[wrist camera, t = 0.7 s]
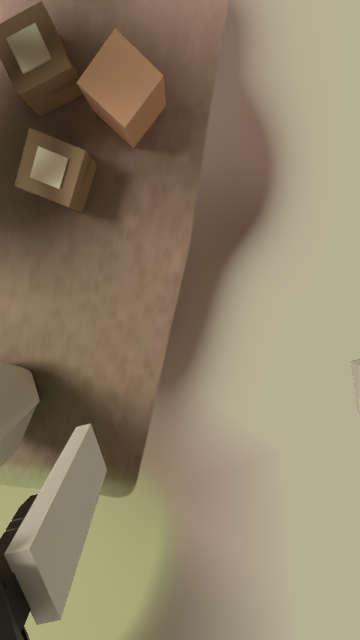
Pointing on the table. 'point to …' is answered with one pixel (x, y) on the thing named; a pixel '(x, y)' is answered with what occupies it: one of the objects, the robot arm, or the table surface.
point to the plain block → (123, 88)
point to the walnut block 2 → (56, 170)
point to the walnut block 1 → (38, 60)
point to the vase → (15, 407)
